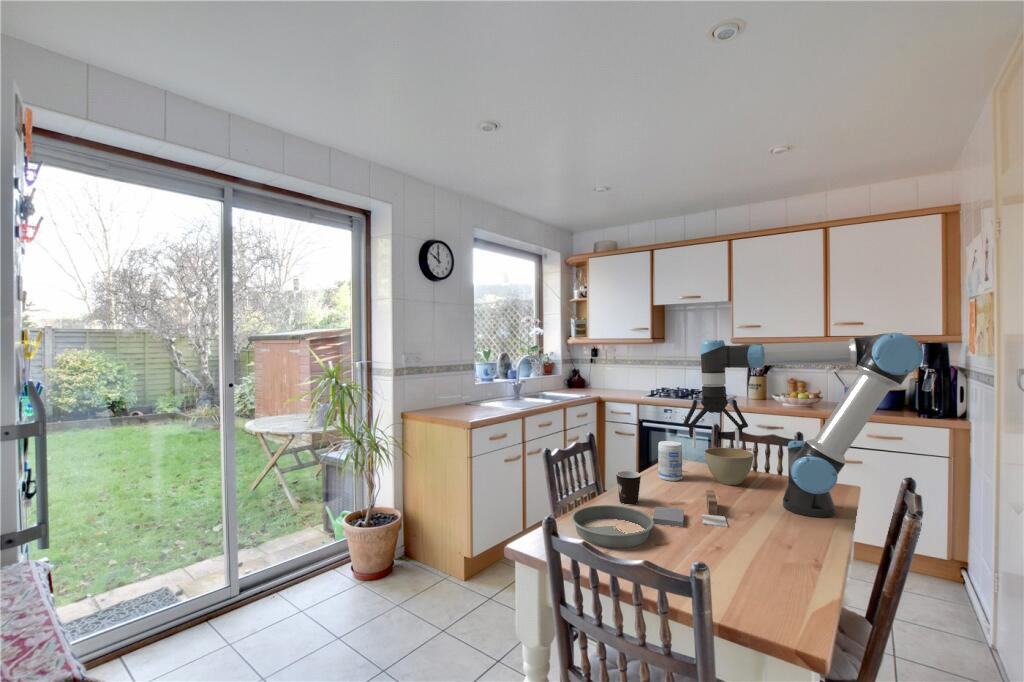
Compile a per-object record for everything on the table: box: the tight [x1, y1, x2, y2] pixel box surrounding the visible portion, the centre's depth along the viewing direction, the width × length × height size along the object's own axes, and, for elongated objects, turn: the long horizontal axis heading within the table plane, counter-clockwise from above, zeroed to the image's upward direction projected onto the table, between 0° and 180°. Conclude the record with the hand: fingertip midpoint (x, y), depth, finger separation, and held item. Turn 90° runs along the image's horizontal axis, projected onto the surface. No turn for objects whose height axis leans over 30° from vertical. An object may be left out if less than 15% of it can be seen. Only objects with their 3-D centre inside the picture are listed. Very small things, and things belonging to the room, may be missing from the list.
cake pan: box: [570, 504, 655, 548], centre depth 146 cm, size 25×25×4 cm
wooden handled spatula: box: [701, 490, 728, 528], centre depth 159 cm, size 20×7×5 cm, turn 162°
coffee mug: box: [615, 470, 642, 505], centre depth 173 cm, size 12×9×10 cm
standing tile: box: [652, 506, 685, 528], centre depth 155 cm, size 2×9×11 cm
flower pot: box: [704, 447, 754, 486], centre depth 193 cm, size 18×18×12 cm
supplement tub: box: [657, 440, 683, 482], centre depth 200 cm, size 10×10×15 cm
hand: (715, 447), depth 163 cm, fingers open, 13 cm apart
